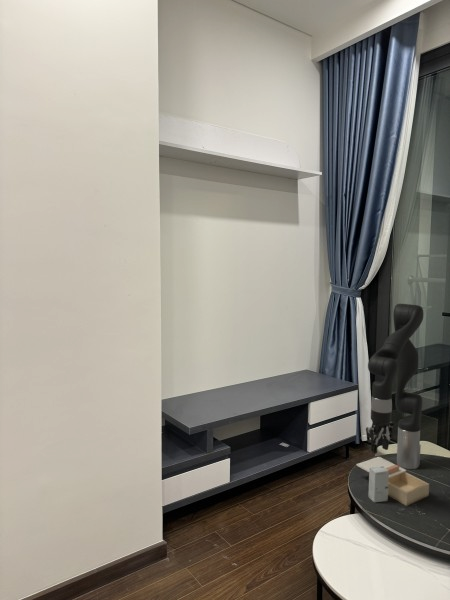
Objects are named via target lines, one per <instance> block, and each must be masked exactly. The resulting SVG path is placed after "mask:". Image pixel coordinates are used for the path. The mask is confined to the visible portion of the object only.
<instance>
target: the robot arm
mask: <svg viewBox="0 0 450 600" xmlns="http://www.w3.org/2000/svg"><path fill="white" fill-rule="evenodd" d="M424 314H425V313H424V309H423V307H422V306H421V305H419V304H418V305H417V304H408V303H397V304H395V306H394V308H393V317H392V318H393V327H394V328H393V329H394V332H392V333H390V335H388V336H387V338H386V339H385V341H384V343H383V345H382V347H381V348H379V349H378V350H377V351H376V352H375V353H374V354H373V355H371V357H370V358H369V360H368V362H367V369H368V371H369V373H371V374H373V375H377V376H380V377H385V378H384V380H375V381H373V382H372V385H371V387H372V390H371V403H370V420H371V422H372V423H371V426H370V427H366V428H365V432H366V442H367V443H369V444H370V451H371V453H373V454H377V453H378V443H379V440H380V439H381V437H382V444H381V448H382V449H383V450H385V451H387V450H389V444H390V442H389V441H390V440H391V439H393V437H394V434H395V433H394V432H395V428H396V427H395V426H396V423H395V422H393V421H392V418H393V417H392V413H393V401H392V396H393V385H394V381H396V384H395V399H394V400H395V402H394V403H395V408H396V411H397V412H399V413H403V414H407V415H411V417H405V418H401V419H399V420H398V422H397V443H396V444H397V446H396V447H397V449H396V465H398V466H399V467H401V468H403V469H405V470H406V469H407V470H416V469H418V468H419V467H420V465H421V463H420V462H421V446H422V445H421V444H420V442H421V424H422V423H421V422H422V411H423V397H422V395H421V394H418V393H412V392H407V391H405V388H406V385H407V384H408V383H409V381H411V379H412V378H413V377H414V376H415V374H417V372H418V370H419V352H418V351H417V348H416V347H415V345H414V344H413V342H412V340H411V337H412V336H413V335H414V334H415V333H416V331H417V330H418V329H419V327H420V326H421V324H422V323H423V320H424ZM395 378H396V380H395Z"/></svg>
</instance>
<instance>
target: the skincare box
mask: <svg viewBox="0 0 450 600" xmlns="http://www.w3.org/2000/svg"><path fill="white" fill-rule="evenodd" d="M368 474H369V475H368V476H369V477H368V498H369V499H370V500H371V501H372V502H373V503H380V502H387V501H388V499H389V496H388V478H389V471H388V470H387V469H386V468H384V467H383V466H381V467H370V472H368Z"/></svg>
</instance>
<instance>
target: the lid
mask: <svg viewBox="0 0 450 600" xmlns="http://www.w3.org/2000/svg"><path fill="white" fill-rule="evenodd" d="M356 466H357V467H359V468H360V469H362V470H364V471H366V472H367V473H369V472H370V467H381V466H383V467H384V468H386V469H387V470H388V471H389V478H391V477H393V476H396V475H399V474H401V473H404V472H406V473H407V470H406V468H403V467H401V466H399V465H398V464H394V463H393V462H391V461H389V460H387V459H385V458H382V457H381V456H377V457H376V456H375V457H374V458H371V459H368V460H365V461H362V462H360V463H359V462H358V463H356Z"/></svg>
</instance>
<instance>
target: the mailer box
mask: <svg viewBox="0 0 450 600" xmlns="http://www.w3.org/2000/svg"><path fill="white" fill-rule="evenodd" d="M429 492H430V483H428V482H426V481H424V480H423V479H420V478H418V477H417V476H415V475H413V474H410V473H408V472H407V471H406V472H404V473H401V474H399V475H396V476H393V477H391V478H388V497H390V498H391V499H394V500H395V501H397V502H399V503H400V504H402V505H403V506H405V507H407V506H410V505H412V504H414V503H416V502H419V501H421V500H423V499H425V498H427V497H429V496H430V494H429Z"/></svg>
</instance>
